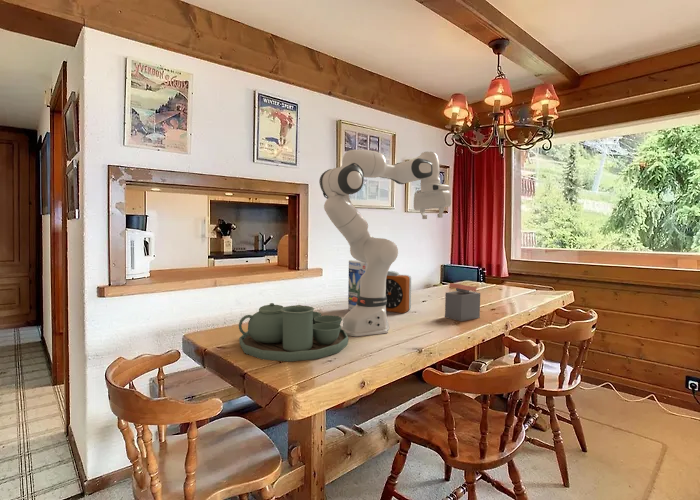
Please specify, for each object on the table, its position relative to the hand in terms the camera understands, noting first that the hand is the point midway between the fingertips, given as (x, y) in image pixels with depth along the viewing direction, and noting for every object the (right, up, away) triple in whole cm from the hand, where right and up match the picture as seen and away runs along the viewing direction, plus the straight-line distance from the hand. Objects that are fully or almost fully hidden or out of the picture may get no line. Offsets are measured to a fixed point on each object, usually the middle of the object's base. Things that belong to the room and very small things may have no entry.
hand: (432, 218), depth 188 cm
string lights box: (-32, -46, +23) cm, 60 cm away
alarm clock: (-16, -46, +25) cm, 55 cm away
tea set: (-59, -50, -34) cm, 85 cm away
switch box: (+16, -47, +9) cm, 51 cm away
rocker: (+16, -35, +8) cm, 39 cm away
